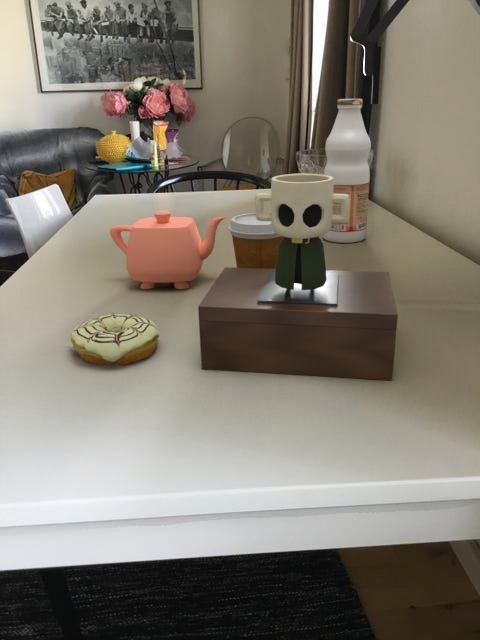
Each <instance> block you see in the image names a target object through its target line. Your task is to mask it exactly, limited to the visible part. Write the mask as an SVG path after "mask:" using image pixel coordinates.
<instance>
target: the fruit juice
mask: <svg viewBox="0 0 480 640" xmlns="http://www.w3.org/2000/svg"><path fill="white" fill-rule="evenodd" d="M363 104H364V103H363V98H339V99H337V104H336V107H337V109H338V112H337V115H336V118H335V120H334V123H333V125H332V129H331V131H330V133H329V135H328V137H327V138H326V140H325V145H324V146H325V147H324V151H325V155H326V164H325V166H324V169H323V175H328V176H332V177H333V178H334V189H333V194H347V195H349V197H350V212H349V219H348V222H344V223H332V227H331V229H330V231H329V232H328V233H327V234H325V235H322V236H321V237H322V238H323V240H325V241H328V242H332V243H339V244H349V243H358V242H362V241H364V240H365V238H366V237H367V230H368V229H367V228H368V211H369V210H368V209H369V196H370V195H369V194H370V180H371V173H370V172H371V171H370V165H369V161H368V159H369V156H370V153H371V148H372V142H371V138H370V136H369V134H368V133H367V129H366V127H365V123H364V119H363V115H362V111H361V110H362V108H363ZM333 214H341V202H333Z"/></svg>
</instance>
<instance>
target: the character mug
mask: <svg viewBox="0 0 480 640" xmlns="http://www.w3.org/2000/svg"><path fill="white" fill-rule="evenodd" d="M270 180H271V181H270V192H258V193H256V194H255V197H254V200H255V201H254V207H255V208H254V210H255V212H254V213H255V216H256V219H257V220H259V221H271V225H272V228H273V230H274V233H276V234H278V235H281V236H284V238H282V239H281V241H280V243H279V248H278V255H277V262H276V270H275V283H276V285H278V286H280V287H281V288H286V289H290V290H294V283H295V284H301V286H302V290H311V289H317V288H319V287H322V286H324V284H325V282H326V281H327V277H326V270H327V266H326V256H325V245H324V243H323V241H322V239H321V238H320V237H323V236H322V235H325V234H327V233H328V232H329V231H330V229H331V227H332V223H344V222H348V219H349V212H350V197H349V195H347V194H333V189H334V178H333V177H332V176H328V175H324V174H321V173H307V172H306V173H305V172H304V173H288V174H280V175H275V176H273V177H271V179H270ZM265 202H270V203H271V205H270V206H271V208H270V212H265V211H264V203H265ZM333 202H341V214H333Z"/></svg>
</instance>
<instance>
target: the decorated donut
mask: <svg viewBox="0 0 480 640" xmlns="http://www.w3.org/2000/svg"><path fill="white" fill-rule="evenodd" d="M70 335H71V336H70V338H71V339H70V342H71V344H72V347H73V348H74V349H75V351H76V353H77V354H78V355H79V356H80V357H81V358H82V359H84V360H85V361H87V362H90V363H92V364H101V365H106V364H108V365H117V364H118V365H122V366H123V365H126V364H128V363H132V362H133V363H134V362H138V361H140V360H142V359H146V358H148V357H150V356H151V355H152V354H153V352H154V351H155V350H156V348H157V346H158V342H159V341H158V340H159V339H158V338H159V337H160V336H161V335H160V332H159V329H158V327H157V325H156V324H155V323H154V322H153V321H152V320H151V319H149V318H147V317H145V316H143V315H138V314H135V313H134V314H133V313H127V312H126V313H125V312H124V313H123V312H122V313H120V312H119V313H118V312H117V313H115V312H114V313H113V312H112V313H106V314H101V315H96V316H94V317H92V318H91V317H90V318H88V319H87V320H86V321H83V322H81V323H79V324H78V325H77V326H75V327H74V328H72V331H71V334H70Z"/></svg>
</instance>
